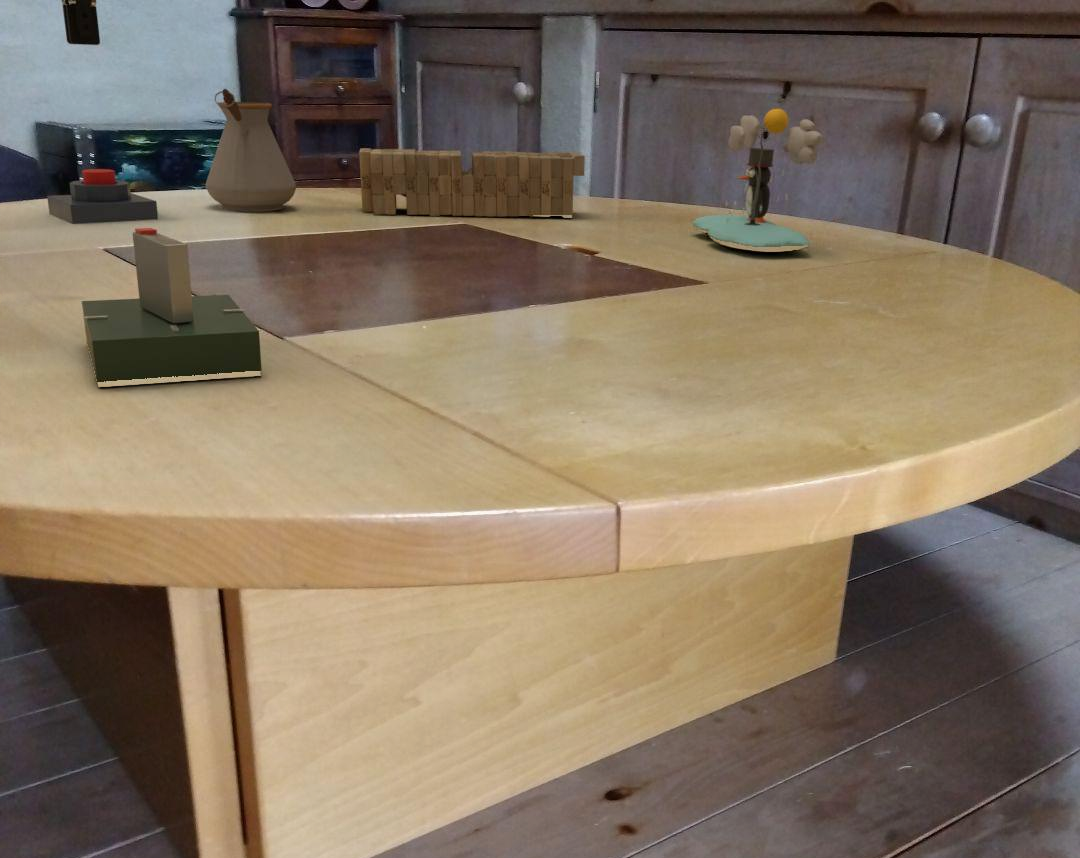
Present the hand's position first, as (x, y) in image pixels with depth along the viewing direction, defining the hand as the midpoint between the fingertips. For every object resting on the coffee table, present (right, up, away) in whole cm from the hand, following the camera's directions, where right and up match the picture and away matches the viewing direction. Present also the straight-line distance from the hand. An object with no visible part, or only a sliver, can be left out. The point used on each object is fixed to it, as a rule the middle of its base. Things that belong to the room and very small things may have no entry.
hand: (83, 44), depth 127 cm
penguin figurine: (+77, -22, +6) cm, 80 cm away
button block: (-1, -18, +8) cm, 19 cm away
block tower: (+43, -13, +23) cm, 50 cm away
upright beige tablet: (+27, -41, -53) cm, 72 cm away
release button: (-1, -14, +6) cm, 16 cm away
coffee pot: (+15, -15, +15) cm, 26 cm away
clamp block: (+27, -44, -51) cm, 73 cm away
